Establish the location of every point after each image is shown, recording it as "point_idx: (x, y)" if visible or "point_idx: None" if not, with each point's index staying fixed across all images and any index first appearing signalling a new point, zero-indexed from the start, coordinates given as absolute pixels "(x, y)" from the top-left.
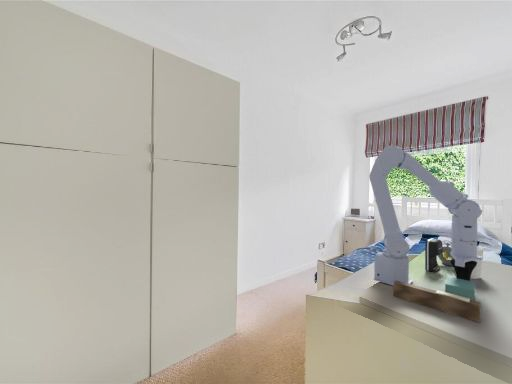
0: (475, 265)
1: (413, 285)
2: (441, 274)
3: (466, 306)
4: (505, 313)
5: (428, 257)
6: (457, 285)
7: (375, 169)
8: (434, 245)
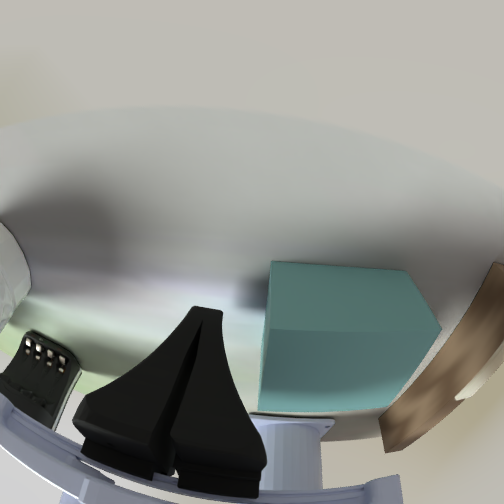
0: (227, 454)
1: (416, 432)
2: (70, 336)
3: None
4: (426, 160)
5: (59, 409)
6: (394, 382)
7: None
8: None
